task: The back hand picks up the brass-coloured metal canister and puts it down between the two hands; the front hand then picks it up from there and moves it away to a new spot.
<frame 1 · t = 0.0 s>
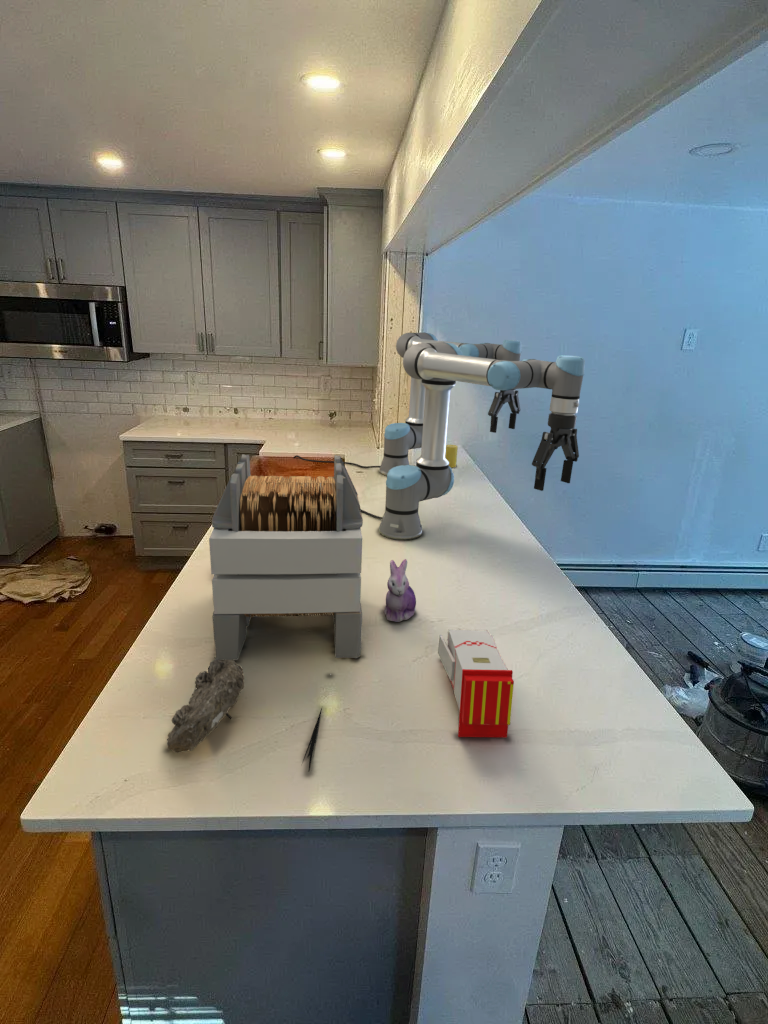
front hand: (552, 485, 166), 28 cm above the counter, tool pointing down, fingers open, 13 cm apart
back hand: (502, 430, 240), 28 cm above the counter, tool pointing down, fingers open, 13 cm apart
figurine: (399, 614, 147), on the counter
feather: (319, 719, 109), on the counter
record crate: (291, 621, 142), on the counter
fossil: (212, 717, 108), on the counter
toy: (469, 691, 119), on the counter
canister: (449, 466, 290), on the counter
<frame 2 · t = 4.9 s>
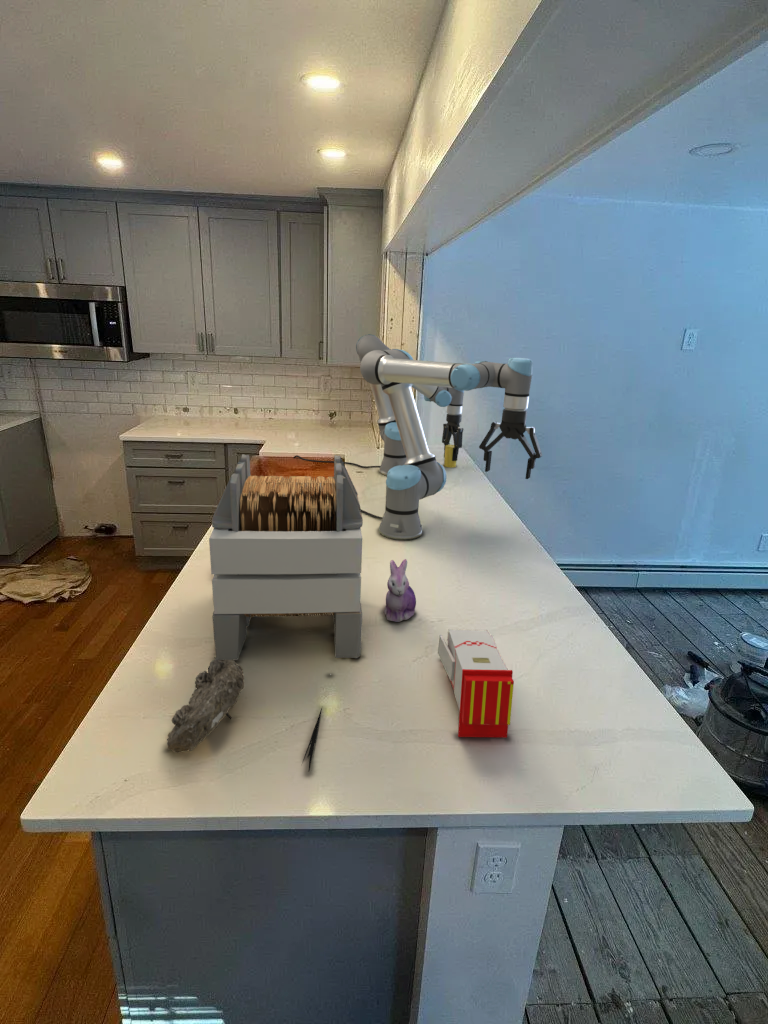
front hand: (507, 474, 185), 25 cm above the counter, tool pointing down, fingers open, 13 cm apart
back hand: (450, 459, 289), 4 cm above the counter, tool pointing down, fingers closed on canister, 6 cm apart
canister: (449, 466, 290), on the counter, touching back hand
everything else where it was.
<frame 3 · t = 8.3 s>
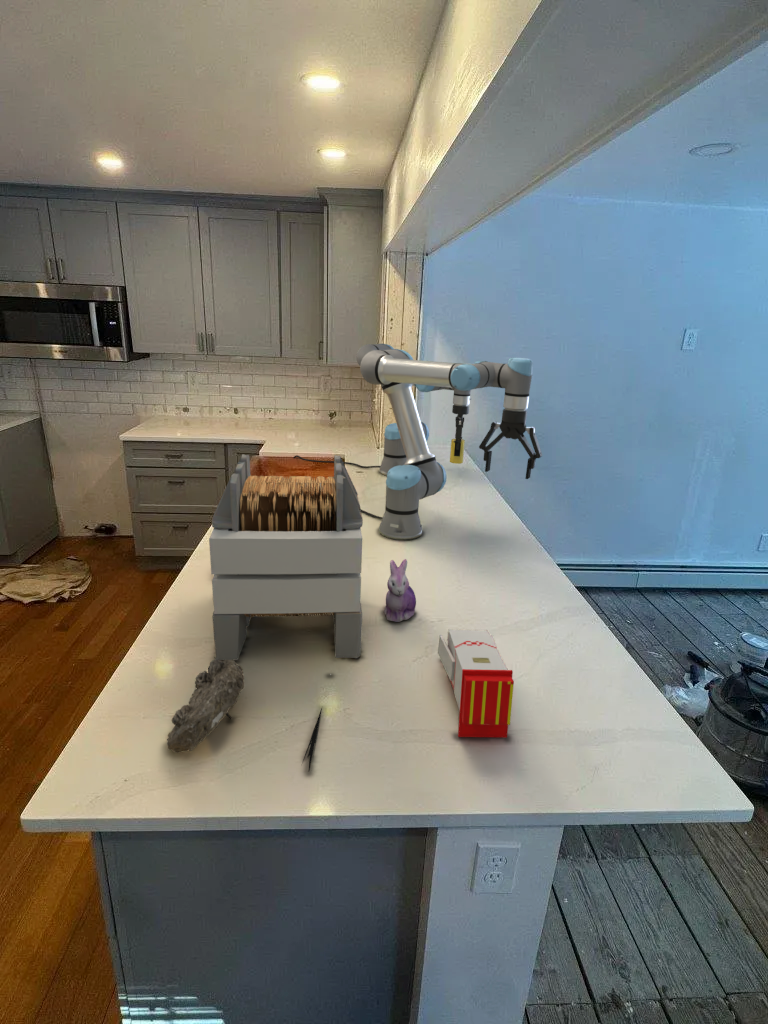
front hand: (507, 474, 185), 25 cm above the counter, tool pointing down, fingers open, 13 cm apart
back hand: (456, 454, 265), 12 cm above the counter, tool pointing down, fingers closed on canister, 6 cm apart
canister: (456, 462, 267), point 8 cm above the counter, touching back hand
everything else where it was.
when the back hand's fingers open (5 cm above the counter, at t = 11.9 s): canister drops 2 cm, on the counter.
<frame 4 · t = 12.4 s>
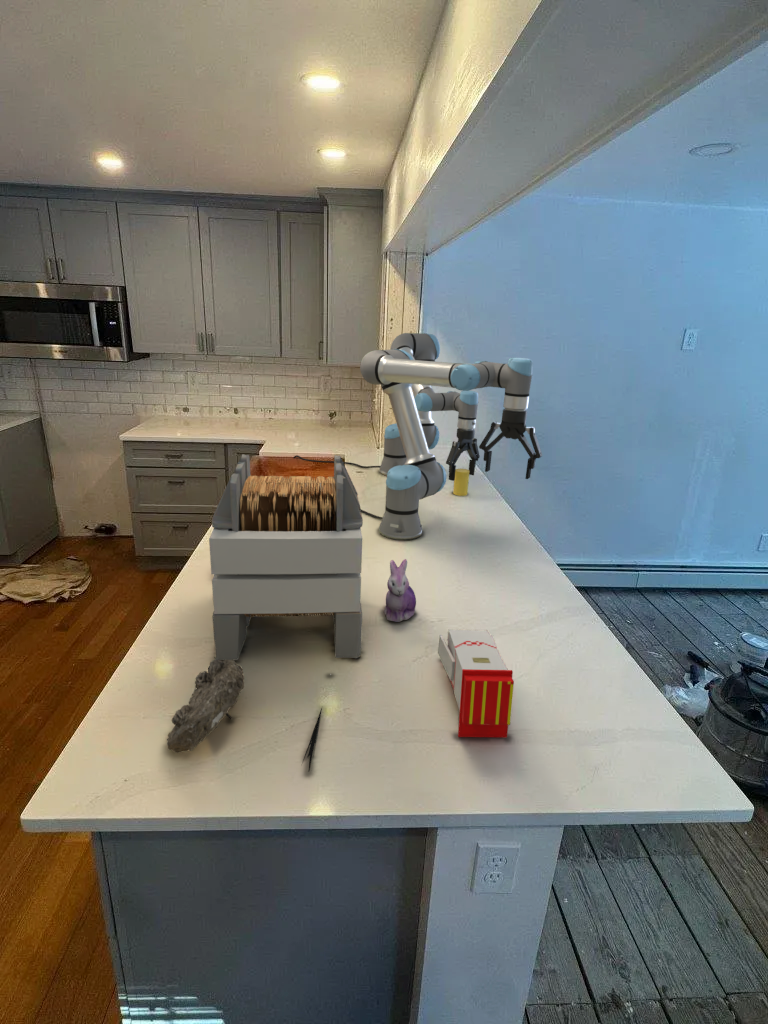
front hand: (507, 474, 185), 25 cm above the counter, tool pointing down, fingers open, 13 cm apart
back hand: (461, 477, 245), 7 cm above the counter, tool pointing down, fingers open, 13 cm apart
canister: (460, 493, 247), on the counter
everything else where it was.
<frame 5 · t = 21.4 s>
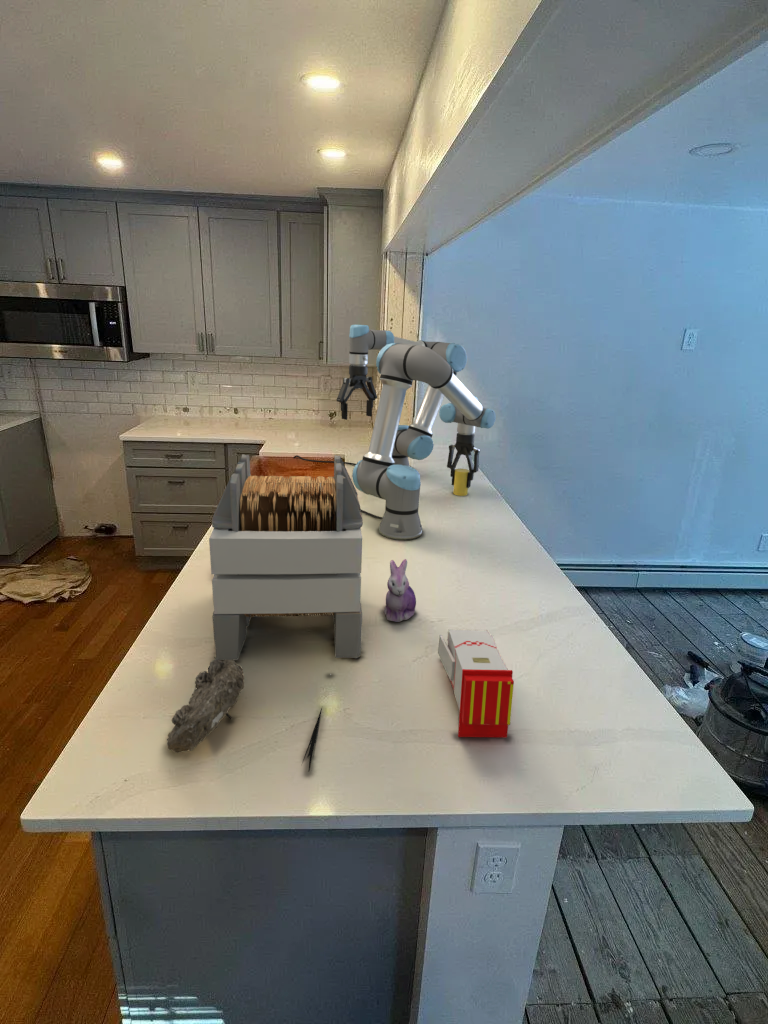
front hand: (460, 485, 246), 4 cm above the counter, tool pointing down, fingers closed on canister, 6 cm apart
back hand: (356, 417, 235), 31 cm above the counter, tool pointing down, fingers open, 13 cm apart
canister: (460, 493, 247), on the counter, touching front hand
everything else where it was.
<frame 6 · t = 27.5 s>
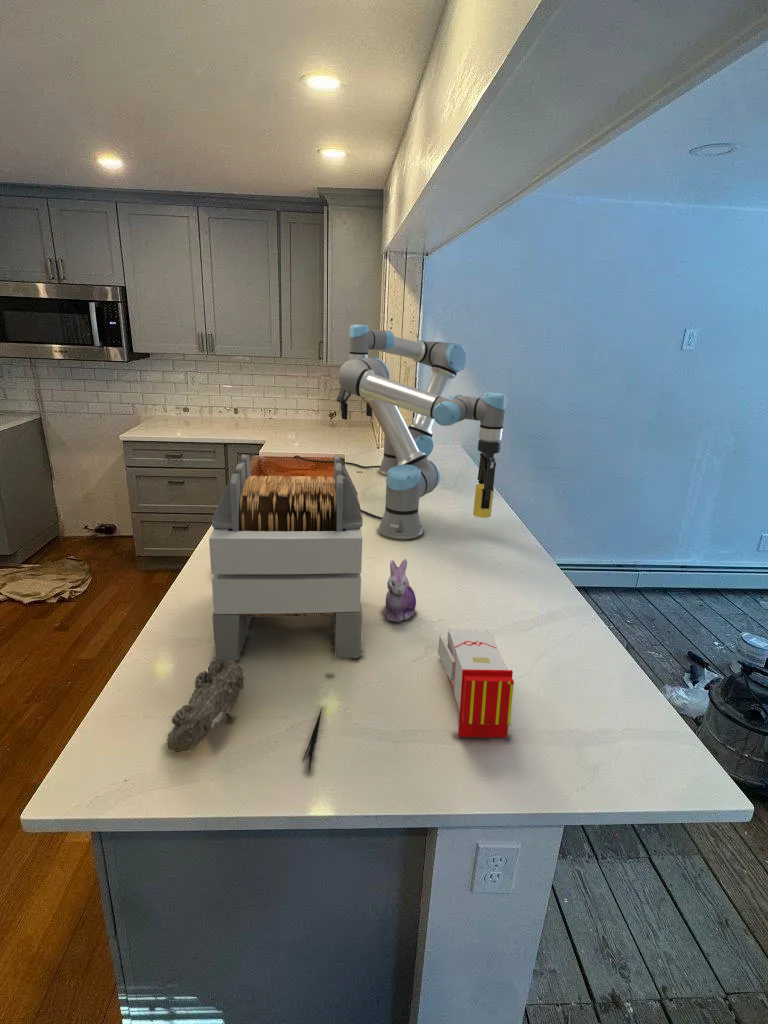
front hand: (482, 504, 198), 12 cm above the counter, tool pointing down, fingers closed on canister, 6 cm apart
back hand: (356, 417, 235), 31 cm above the counter, tool pointing down, fingers open, 13 cm apart
canister: (481, 514, 199), point 8 cm above the counter, touching front hand
everything else where it was.
when the front hand's fingers open (5 cm above the counter, at t = 33.8 s): canister drops 2 cm, on the counter.
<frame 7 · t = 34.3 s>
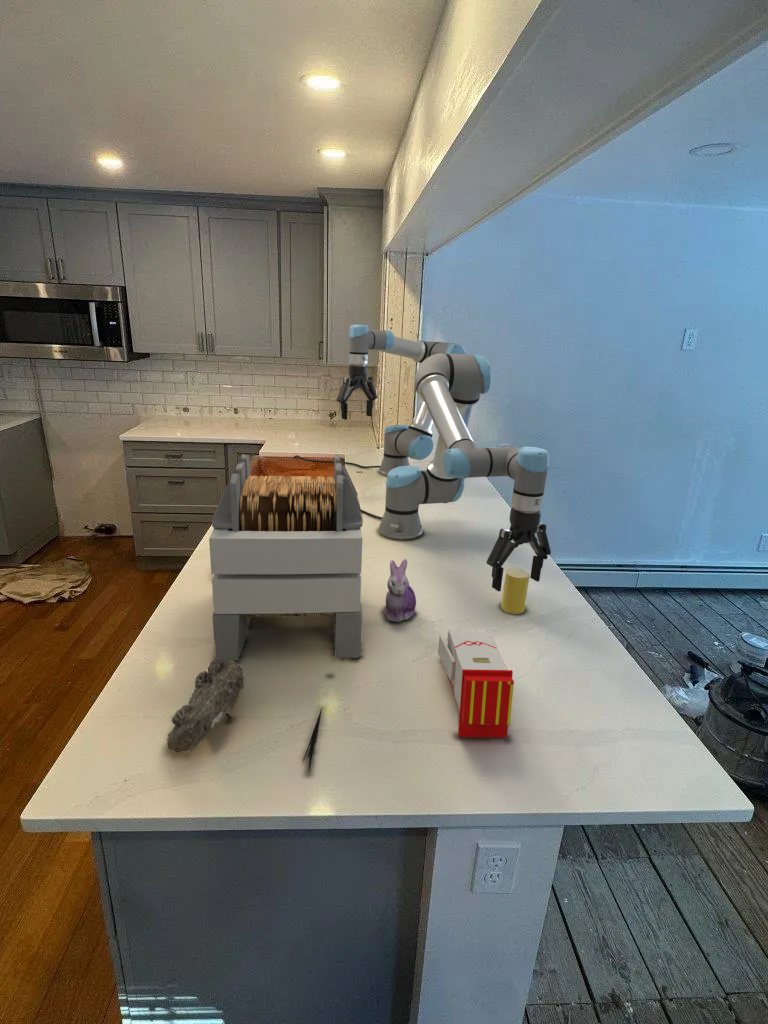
front hand: (515, 584, 151), 7 cm above the counter, tool pointing down, fingers open, 13 cm apart
back hand: (356, 417, 235), 31 cm above the counter, tool pointing down, fingers open, 13 cm apart
canister: (512, 608, 153), on the counter
everything else where it was.
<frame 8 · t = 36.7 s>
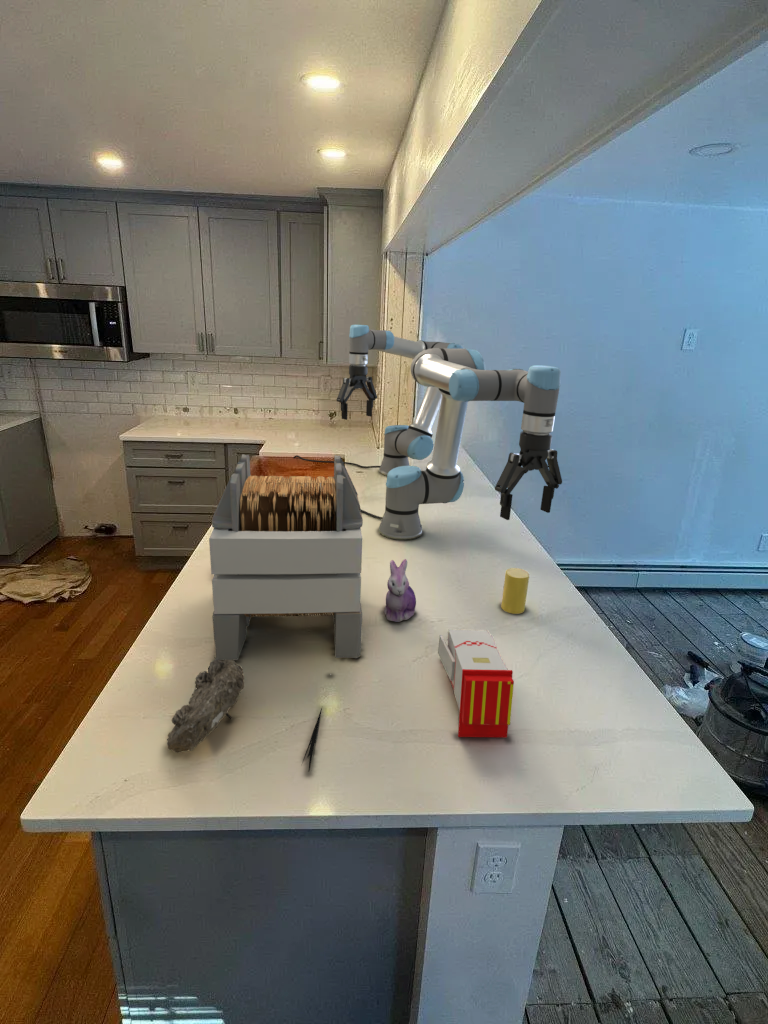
front hand: (525, 514, 144), 27 cm above the counter, tool pointing down, fingers open, 13 cm apart
back hand: (356, 417, 235), 31 cm above the counter, tool pointing down, fingers open, 13 cm apart
nothing on the counter moved.
at the end: canister inside the target area (0.0 cm from its centre), on the counter; canister tilted 0°; the two hands never held the canister at the same time; the front hand is holding nothing; the back hand is holding nothing; canister at rest at the end (0.0 cm/s) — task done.
